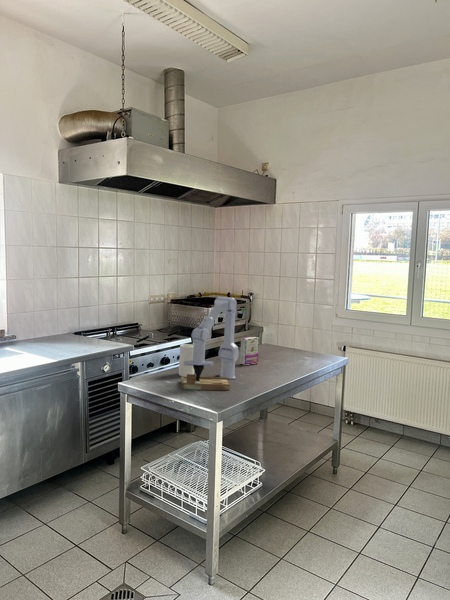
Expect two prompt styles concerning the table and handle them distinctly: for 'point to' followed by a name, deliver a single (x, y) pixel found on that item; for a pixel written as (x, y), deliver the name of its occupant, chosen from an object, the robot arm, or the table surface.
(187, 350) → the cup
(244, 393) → the table surface
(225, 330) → the robot arm
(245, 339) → the candy bar box
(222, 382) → the trap tray
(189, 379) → the walnut cube
